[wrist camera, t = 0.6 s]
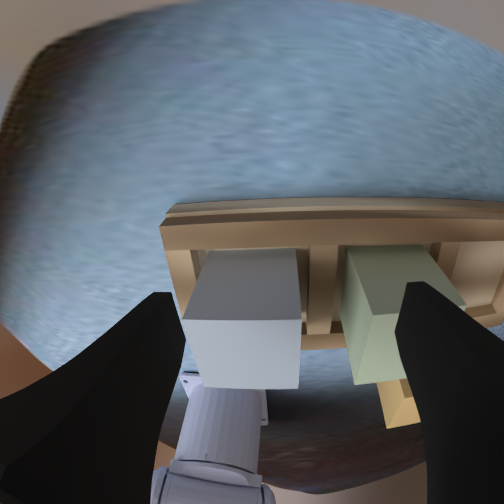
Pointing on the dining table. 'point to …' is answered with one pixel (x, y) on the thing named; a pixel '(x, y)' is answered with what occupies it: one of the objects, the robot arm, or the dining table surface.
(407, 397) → the ochre block
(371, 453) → the dining table surface
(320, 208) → the slot board
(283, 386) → the blue-grey block
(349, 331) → the sage block
